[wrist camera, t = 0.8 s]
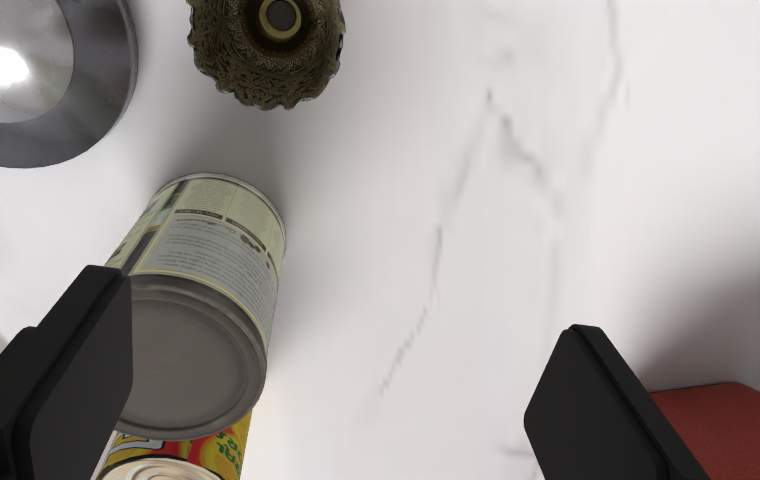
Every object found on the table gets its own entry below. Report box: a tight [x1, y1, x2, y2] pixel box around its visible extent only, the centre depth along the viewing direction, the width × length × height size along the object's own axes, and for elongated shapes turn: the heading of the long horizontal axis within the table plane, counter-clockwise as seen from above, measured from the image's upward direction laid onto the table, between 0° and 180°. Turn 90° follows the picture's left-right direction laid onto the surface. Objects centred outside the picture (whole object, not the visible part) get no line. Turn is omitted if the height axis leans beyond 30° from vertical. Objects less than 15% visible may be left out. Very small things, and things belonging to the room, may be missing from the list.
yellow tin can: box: [96, 408, 253, 480], centre depth 39 cm, size 9×9×12 cm
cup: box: [186, 0, 346, 111], centre depth 28 cm, size 8×7×8 cm
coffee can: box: [104, 173, 286, 441], centre depth 32 cm, size 10×10×14 cm
